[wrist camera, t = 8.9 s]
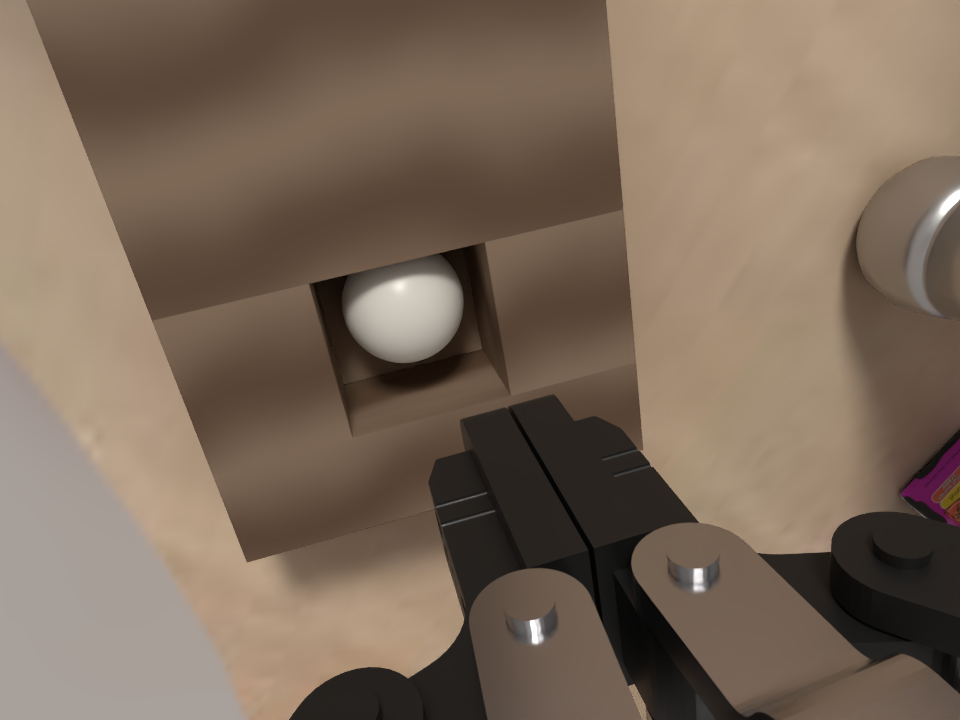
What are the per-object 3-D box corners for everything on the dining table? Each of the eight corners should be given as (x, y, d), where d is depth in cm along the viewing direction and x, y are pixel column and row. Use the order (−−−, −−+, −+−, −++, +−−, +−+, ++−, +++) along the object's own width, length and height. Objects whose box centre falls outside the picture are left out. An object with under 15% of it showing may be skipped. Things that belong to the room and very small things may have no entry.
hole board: (-29, -261, 21) (-103, -330, 17) (521, -331, 23) (572, -406, 19) (251, 495, 32) (247, 562, 28) (601, 400, 34) (642, 449, 30)
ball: (439, 235, 30) (453, 220, 26) (467, 344, 31) (486, 347, 26) (329, 263, 30) (324, 252, 25) (360, 372, 30) (360, 381, 25)
